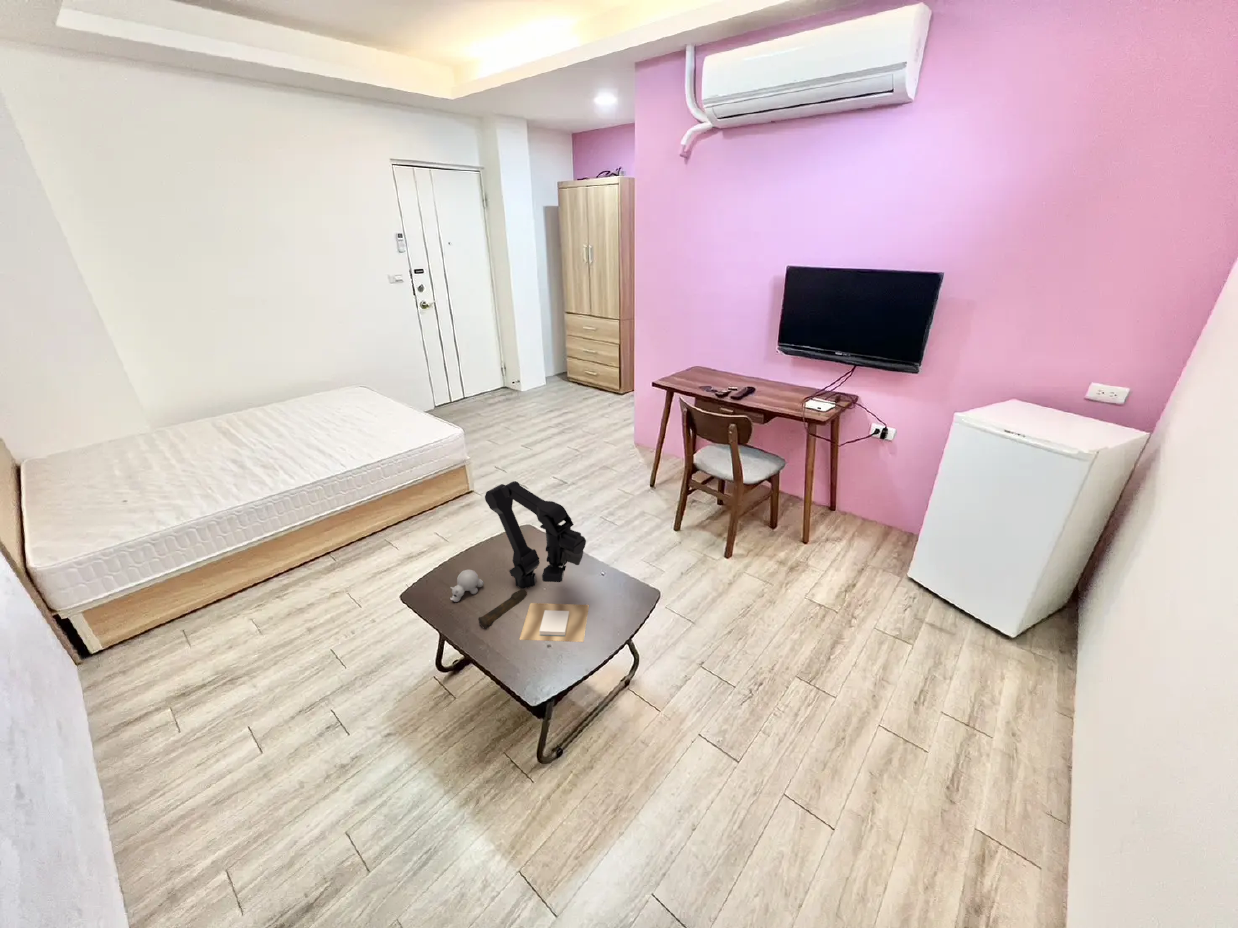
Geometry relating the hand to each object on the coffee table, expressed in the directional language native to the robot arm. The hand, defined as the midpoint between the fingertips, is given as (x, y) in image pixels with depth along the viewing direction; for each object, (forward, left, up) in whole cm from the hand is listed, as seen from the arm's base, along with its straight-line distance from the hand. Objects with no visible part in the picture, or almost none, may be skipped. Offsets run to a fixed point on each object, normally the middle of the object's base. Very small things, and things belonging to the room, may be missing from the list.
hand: (558, 580), depth 157 cm
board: (0, -9, -10) cm, 14 cm away
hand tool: (-18, -4, -11) cm, 22 cm away
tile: (0, -6, -8) cm, 10 cm away
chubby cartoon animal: (-34, +4, -11) cm, 36 cm away
